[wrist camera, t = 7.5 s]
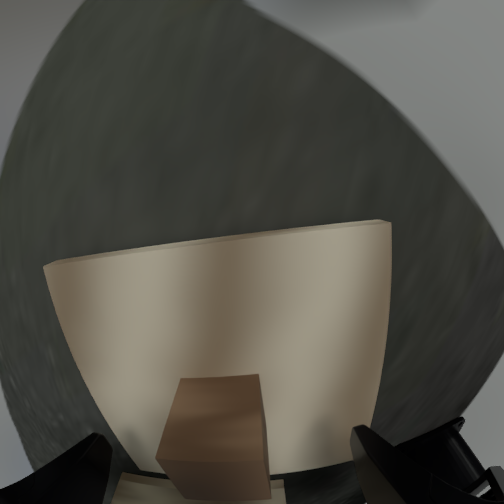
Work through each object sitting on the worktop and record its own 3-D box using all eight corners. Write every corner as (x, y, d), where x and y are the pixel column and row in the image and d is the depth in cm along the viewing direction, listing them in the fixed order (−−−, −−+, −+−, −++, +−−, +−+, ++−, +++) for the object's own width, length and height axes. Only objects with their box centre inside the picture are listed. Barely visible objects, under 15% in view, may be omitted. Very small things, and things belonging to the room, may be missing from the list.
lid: (369, 217, 10) (473, 246, 4) (353, 437, 13) (380, 509, 7) (66, 256, 10) (-27, 300, 4) (147, 450, 13) (125, 518, 7)
